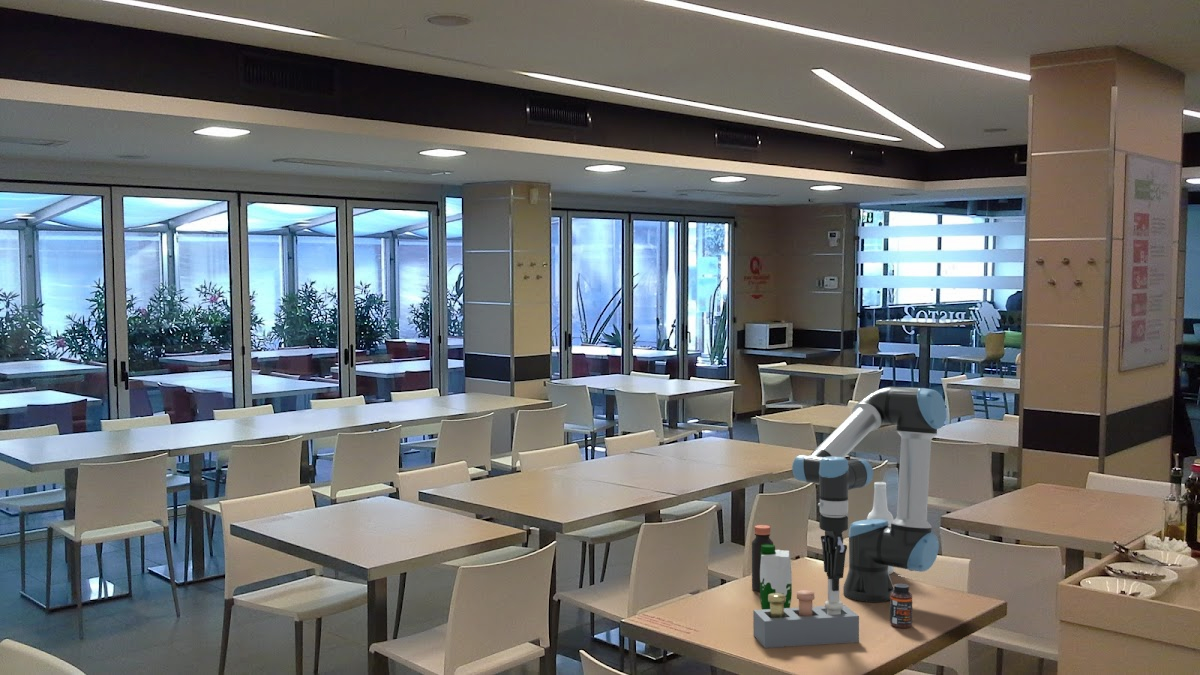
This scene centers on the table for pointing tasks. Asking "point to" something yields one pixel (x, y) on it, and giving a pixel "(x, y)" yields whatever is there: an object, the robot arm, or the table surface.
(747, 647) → the table surface
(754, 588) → the vinegar
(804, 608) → the pink rounded piece
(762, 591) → the milk carton
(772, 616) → the brass plunger
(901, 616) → the supplement bottle
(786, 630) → the block
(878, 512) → the alcohol
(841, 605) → the white rounded piece
